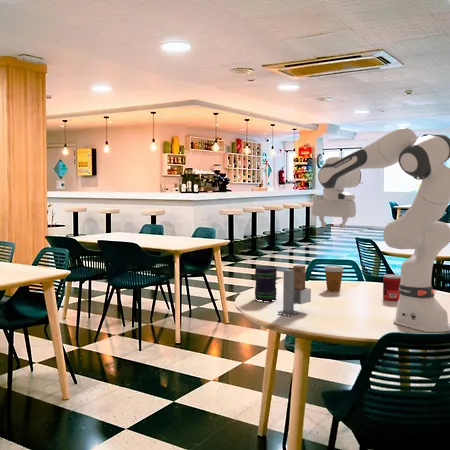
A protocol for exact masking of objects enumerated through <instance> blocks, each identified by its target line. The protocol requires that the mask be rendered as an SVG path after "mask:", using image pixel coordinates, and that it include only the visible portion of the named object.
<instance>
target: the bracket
mask: <svg viewBox="0 0 450 450" xmlns="http://www.w3.org/2000/svg"><path fill="white" fill-rule="evenodd" d="M282 289H283V290H282V291H283V295H282V296H283V299H282V301H283V302H282V304H283V305H282V307H283V308H282V309H283V310H280V311H279V310H278V311H277V314H278V313H281V314H285V315H289V316H290V317H292V316H291V315H294V316H296V315H295V314H297V315H299V314H300V312H299V311H297V310H294V307H295V306H294V305H297V304H298V305H302V304H303V305H304V304H306V303H307V304H308V303H310V302H311V301H312V300H311V299H312V298H311V297H312V288H309V287H305V290H295V289H294V270H293V269H290V268H289V269H284V270H283V288H282ZM289 316H288V317H289Z"/></svg>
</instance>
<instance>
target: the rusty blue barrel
mask: <svg viewBox="0 0 450 450" xmlns="http://www.w3.org/2000/svg"><path fill="white" fill-rule="evenodd" d="M254 270H255V271H254V279H255V287H254V297H255V298H254V300H255V299H257V300H262V301H272V300H276V301H277V267H276V266H274V265H273V266H272V265H257V266H255V267H254Z"/></svg>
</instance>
